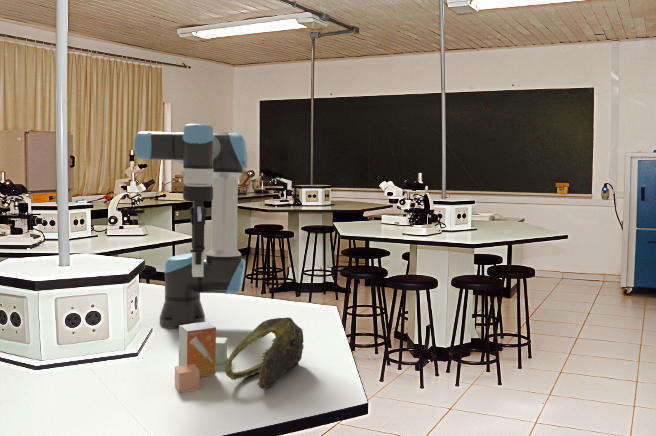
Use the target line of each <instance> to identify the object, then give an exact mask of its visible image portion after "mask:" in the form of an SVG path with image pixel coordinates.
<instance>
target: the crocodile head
mask: <svg viewBox="0 0 656 436" xmlns="http://www.w3.org/2000/svg"><path fill="white" fill-rule="evenodd" d="M270 333H272V334H274V337H275V338H273V339H272V340H271V343H270V346H269V347H268V349H265V351H266V352H263V353H262V354H263V355H261V356H260V357H262V359H261V362H259V363H258V364H256V365H253V366H252V367H250V368H248V369H246V370H242V371H241V370H240V371H235V372H234V371H233V370H232V363H233V361H234V360H235V358H236V357H237V356H238V355H239V354H240V353H241V352H242V351H243V350H244V349H245V348H247V347H249V346H250V345H252V344H253V343H255V342H256V341H257V340H259V339H261V338H264V337H266V336H267V335H269V334H270ZM304 341H305V340H304V332H303V328H302V327H299V326H298V325H297V324H296V323H295V321H294V320H293V318H291V317H276V318H275V317H274V318H270V319H266V320H264V321H262V322H261V323H260V324H258V325H257V326H256V327H255V328H254V329H253V330H252V331H251V332H249V333H248V334H247V335H246V336H245V337H244V338H243V339H242V340H241V341H240V342H239V343H238V344H237V346H235V348H234V349H233V350H232V352H231V353H230V355H229V356H228V358H227V360H226V362H225V366H224V367H225V368H224V372H225V375H226V376H227V377H228V378H230V380H234V381H237V380H240V379H242V378H243V379H244V378H245V377H246V378H248V377H251V376H252V375H253V376H255V374H258V373H259V375H258V382H256V385H257V386H258V387H259V389H262V390H266V389H269V388H271V386H273V385H274V384H275V382H276V381H277V380H278V379H279V378H280V377H281V376H283V374H285V373H287V372H289V371H290V370H291V369H294V368H296V367H298V365H299V362H300V361H301V359H302V357H303V350H304V347H305V346H304V344H303V343H304Z"/></svg>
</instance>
